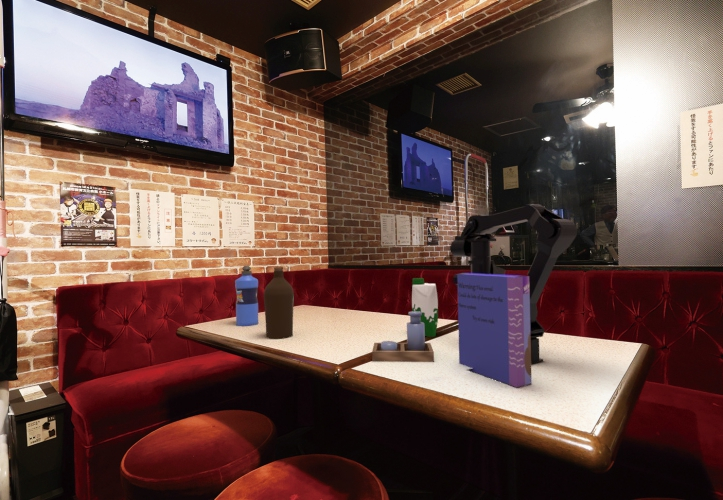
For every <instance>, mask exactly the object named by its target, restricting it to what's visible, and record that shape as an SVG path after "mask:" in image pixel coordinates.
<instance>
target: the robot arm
mask: <svg viewBox="0 0 723 500" xmlns="http://www.w3.org/2000/svg"><path fill="white" fill-rule="evenodd" d="M525 222H526V223H527V222H528V223H529V224H530V225H529V226H531V228H532V229H533V230H534V231H536V232H537V236H536V245H537V252H536V254H535V256H534V259H533V260H532V261H533V262H532V264H531V266H530V268H529V270H528V272H527V275H526V276H529V290H530V333H531V365H533V364H536V363H541V362H544V359H543V358H541V357H540V338H542V337H544V335H545V334H544V333H545V328H544V327H543V326H542V325H541V324H540V322H539V321H538V320H537V317H538V307H537V303H538V301H539V299H540V297H541V294H542V293H543V290H544V289H545V286H546V284H547V281H548V279H549V278H550V276H551V273H552V271H553V269H554V266H555V265H556V262H557V260H558V258H559V256H561V255H562V254H563V253H564V252H565V251H566V250H567V249H568V248H569V247H570V246H571V245H572V243H573V242H574V240H575V239H576V237H577V235H578V228H577V226H576V224H575V222H573V221H572V220H571V219H566V218H565V219H564V218H563V217H562V216H560V215H558V214H556V213H555V212H552V211H550V210H549V209H547V208H546V207H545V206H543V205H542V204H539V203H537V204H534V203H528V204H526V205H524V206H521V207H516V208H512V209H508V210H505V211H501V212H497V213H493V214H473V215H470V216H469V217H468V219H467V221H466V224H465V226H464V227H463V230H462V231H461V234H460V235H455V236H454V239H453V240H452V242H451V243H450V247H449V251H450V253H451V255H452V256H453V257H456V258H458V257H459V258H465V257H467V258H469V257H470V260H469V259H468V260H467V264H469V265H470V273H479V274H499V275H506V269H504V268H502V267H500V266H497V265H495V261H494V260H493V259H491V258H492V257H491V255H492V254H491V252H492V251H491V250H492V249H491V242H496V241H497V238H495V236H493V235H492V233H495V232H497V231H498V230H499V229H501V228H504V227H508V226H513V225H517V224H521V223H525ZM457 274H458V273H457ZM457 274H456V273H455V274H454V275H453V276H452V284H455V286H456V287H458V279H457Z"/></svg>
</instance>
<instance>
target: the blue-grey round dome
mask: <svg viewBox="0 0 723 500" xmlns="http://www.w3.org/2000/svg"><path fill="white" fill-rule="evenodd" d="M380 343H381V351H397V343H398V342H396V341H392V340H383V341H380Z"/></svg>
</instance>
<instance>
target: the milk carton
mask: <svg viewBox="0 0 723 500" xmlns="http://www.w3.org/2000/svg"><path fill="white" fill-rule="evenodd" d="M424 279H425V278H423V277H413V278H412V285H411V287H412V289H411V290H412V291H411V311H420V312H422V315H420V318H421V322H423V323H424V327H425V336H427V337H428V338H431V337H432V338H436V336H437V335H436V334H437V329H438V322H439V321H438V320H439V308H438V307H439V299H438V292H437V291H438V290H437V285H436V283H428V282H425V280H424Z"/></svg>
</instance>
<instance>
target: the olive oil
mask: <svg viewBox="0 0 723 500" xmlns="http://www.w3.org/2000/svg"><path fill="white" fill-rule="evenodd" d="M283 269H284V267H283V266H275V267H273V278H272V279H271V280H270V281H269V283H267V285H266V286H265V287H264V288H265V289H264V292H263V302H264V303H263V305H264V316H265V317H264V318H265V336H266V338H267V339H275V340H276V339H277V340H280V339H287V338H290V337H292V336H293V334H294V298H295V297H294V296H295V293H294V289H293V287H292V285H291V284H290V283H289V282H288V281H287V280H286V278H284V270H283Z"/></svg>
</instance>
